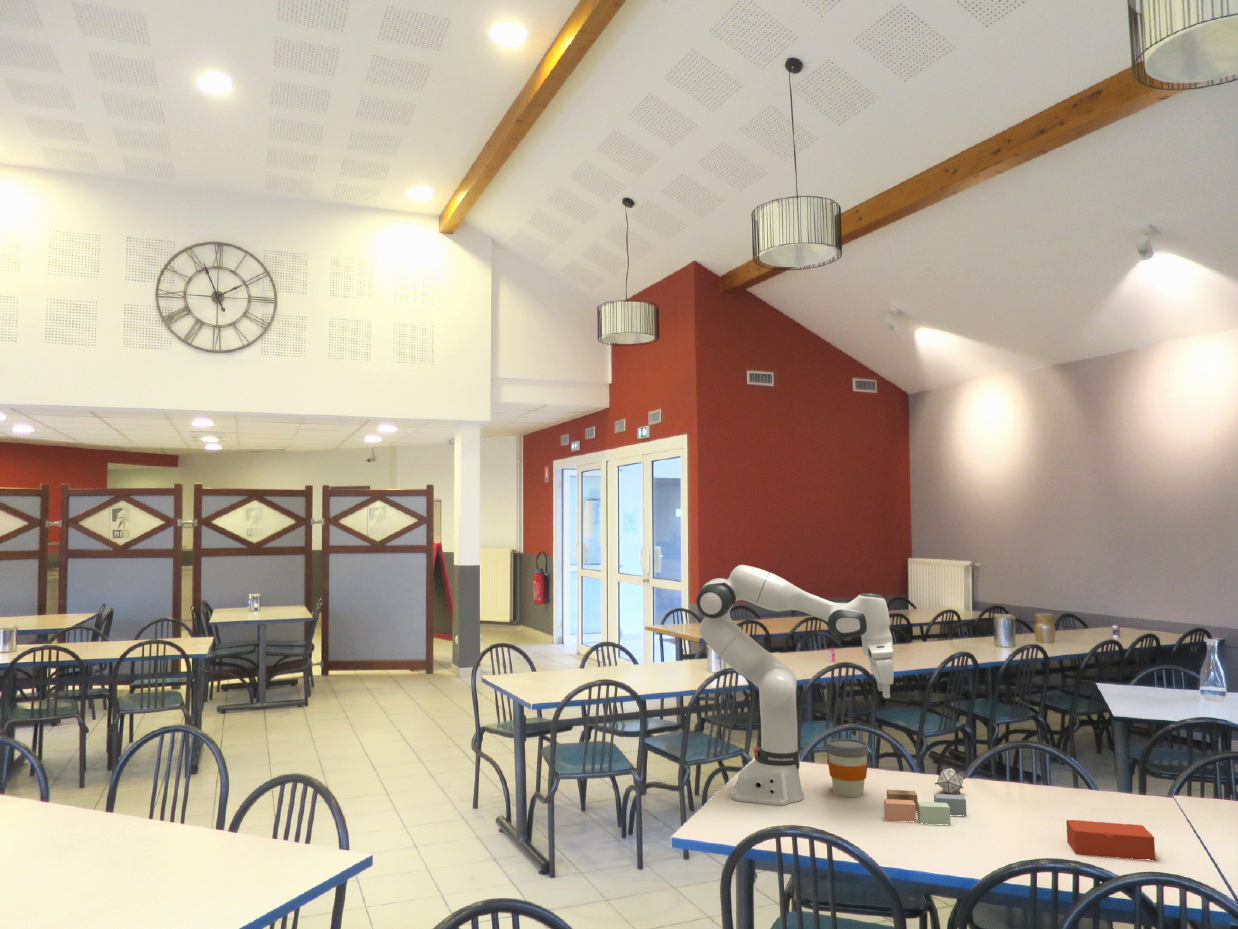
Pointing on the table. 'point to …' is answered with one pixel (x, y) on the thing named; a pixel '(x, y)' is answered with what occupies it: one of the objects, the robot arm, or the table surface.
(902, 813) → the terracotta block
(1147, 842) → the brick
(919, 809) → the sage block
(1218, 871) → the table surface
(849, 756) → the reusable coffee cup
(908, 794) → the walnut block
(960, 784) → the game die
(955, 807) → the slate block
